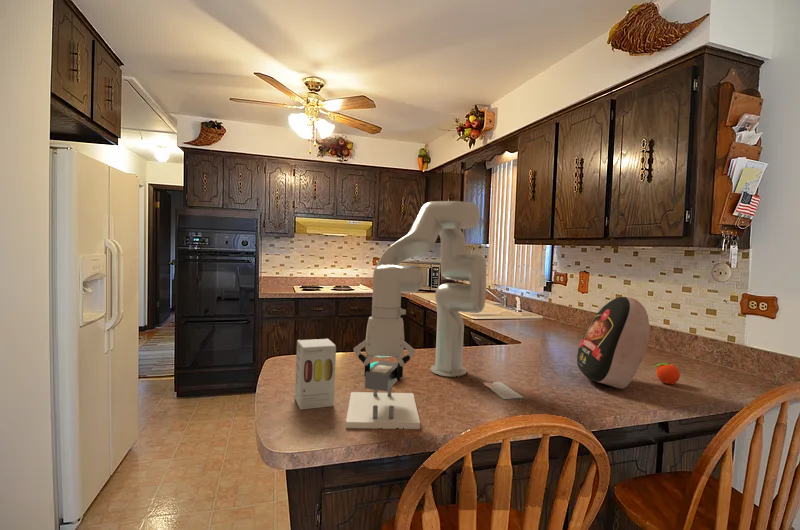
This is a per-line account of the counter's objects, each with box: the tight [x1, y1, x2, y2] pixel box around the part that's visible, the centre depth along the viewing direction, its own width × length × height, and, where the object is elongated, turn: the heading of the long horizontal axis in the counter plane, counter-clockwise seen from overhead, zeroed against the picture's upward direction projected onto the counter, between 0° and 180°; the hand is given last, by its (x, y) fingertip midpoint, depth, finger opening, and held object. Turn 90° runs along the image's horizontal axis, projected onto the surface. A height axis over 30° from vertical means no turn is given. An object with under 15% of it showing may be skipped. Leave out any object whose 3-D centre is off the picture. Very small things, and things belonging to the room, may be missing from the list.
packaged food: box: [576, 296, 651, 390], centre depth 140 cm, size 22×20×30 cm
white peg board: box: [345, 386, 421, 430], centre depth 109 cm, size 20×18×4 cm
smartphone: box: [491, 381, 525, 401], centre depth 129 cm, size 7×1×15 cm
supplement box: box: [294, 338, 337, 410], centre depth 114 cm, size 10×9×17 cm
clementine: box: [653, 362, 681, 385], centre depth 143 cm, size 8×7×7 cm
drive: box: [364, 360, 398, 392], centre depth 109 cm, size 12×6×4 cm, turn 165°
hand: (383, 378), depth 109 cm, fingers closed on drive, 7 cm apart
